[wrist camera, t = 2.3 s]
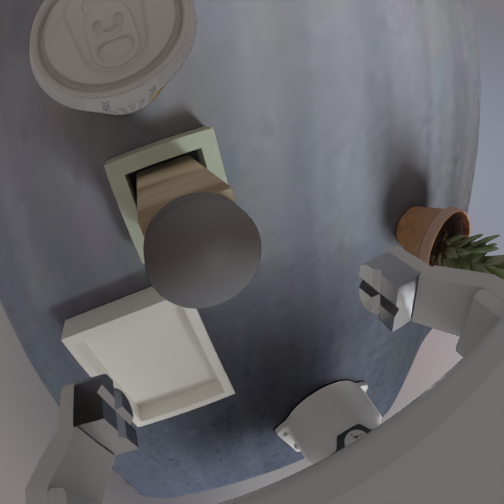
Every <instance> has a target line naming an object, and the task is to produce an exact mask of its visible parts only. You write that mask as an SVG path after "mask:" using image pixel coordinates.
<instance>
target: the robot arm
mask: <svg viewBox="0 0 504 504" xmlns="http://www.w3.org/2000/svg"><path fill="white" fill-rule="evenodd" d="M359 277H361V278H362V279H363V280H362V282H361V284H360V286H359V296H360V299H361V301H362V303H363V305H364V306H365V308H366V309H367V310H368V311H370V312H371V313H375V314H379V321H381V322H382V323H383V324H384V325H385V326H386V327H387V328H388V329H390V330H391V331H392V332H393V331H395V330H396V329H398V328H400V327H401V326H403V325H404V324H406V323H407V322H409V321H410V320H412V322H415V323H419V324H422V325H425V326H428V327H431V328H434V329H437V330H441V331H444V332H447V333H450V334H453V335H456V336H460V338H459V341H458V343H457V346H456V351H457V352H458V353H459V354H460V355H461V356H462V357H463V358H462V359H461V360H460V361H459V362H458V363H457V364H456V365H455V366H454V367H453V368H452V369H451V370H450V371H448V372H447V373H446V374H445V375H444V376H443V377H442V378H441V379H440V380H438V381H437V382H436V383H435V384H433V385H432V386H431V387H430V388H429V389H427V390H426V391H425V392H424V393H423V394H421V395H420V396H419V397H418V398H416V399H415V400H414V401H412V402H411V403H410V404H409V405H407V406H406V407H405V408H403V409H402V410H401V411H399V412H398V413H396V414H395V415H394V416H392V417H391V418H390V419H388V420H387V421H385V422H384V423H382V424H381V425H380V422H381V418H382V417H381V415H380V413H379V412H378V410H377V409H376V407H375V406H374V405H373V403H372V402H371V400H370V399H369V398H368V396H367V395H366V390H367V388H368V385H367V384H366V382H358V383H354V382H352V381H339V382H336V383H333V384H330V385H328V386H326V387H324V388H322V389H320V390H318V391H316V392H315V393H313V394H312V395H310V396H309V397H307V398H306V399H305V400H303V401H302V402H301V403H300V404H299V405H298V406H297V407H296V408H295V409H294V410H293V411H292V412H291V414H290V415H289V416H288V418H287V419H286V420H285V421H284V422H283V423H282V424H280V425H279V426H278V427H277V428H276V429H275V432H276V434H277V435H278V436H279V437H280V438H282V439H283V440H284V441H285V442H286V443H287V444H289V445H290V446H291V447H292V448H293V449H294V450H296V451H297V452H300V451H301V453H302V454H303V456H304V458H305V459H306V461H310V462H311V463H314V464H313V465H311V466H309V467H307V468H306V469H303V470H301V471H299V472H297V473H295V474H293V475H291V476H289V477H287V478H284V479H282V480H280V481H277V482H275V483H273V484H270V485H268V486H266V487H263V488H261V489H258V490H256V491H253V492H250V493H248V494H245V495H242V496H239V497H237V498H234V499H231V500H228V501H225V502H222V503H219V504H504V280H502V279H501V278H499V277H498V276H496V275H495V274H489V273H482V272H476V271H469V270H463V269H456V268H449V267H443V266H436V265H435V266H433V267H431V266H430V265H428V264H426V263H425V262H423V261H422V260H420V259H418V258H417V257H415V256H414V255H412V254H410V253H409V252H407V251H405V250H404V249H402V248H400V247H394V248H392V249H390V250H388V251H386V252H385V253H383V254H381V255H379V256H377V257H375V258H373V259H371V260H370V261H368V262H366V263H364V264H362V265H361V266H360V268H359ZM132 420H133V412H132V408H131V406H130V403H129V400H128V399H127V397H126V396H125V394H124V393H123V392H122V391H121V390H120V389H117V388H114V386H113V380H112V379H111V378H110V377H109V376H108V375H107V374H101V375H98V376H95V377H91V378H88V379H85V380H81V381H78V382H76V383H73V384H69V385H65V386H63V387H62V389H61V395H60V412H59V431H57V432H55V433H54V435H53V437H52V438H51V440H50V442H49V444H48V446H47V448H46V450H45V451H44V453H43V455H42V457H41V459H40V461H39V462H38V464H37V466H36V468H35V470H34V472H33V474H32V476H31V478H30V480H29V482H28V485H27V486H26V488H25V496H26V504H102V500H103V497H104V493H105V490H106V487H107V483H108V480H109V477H110V473H111V470H112V467H113V464H114V460H115V457H116V456H115V455H118V454H121V453H125V452H128V451H132V450H135V449H138V448H139V446H138V441H137V435H136V430H135V429H134V428H133V427H132V426H131V425H130V424H131V422H132Z"/></svg>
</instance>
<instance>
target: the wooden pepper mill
mask: <svg viewBox="0 0 504 504" xmlns="http://www.w3.org/2000/svg"><path fill="white" fill-rule="evenodd" d="M137 214H138V224H139V226H140V229H141V231H142V234H143V236H144V245H143V251H144V262H145V269H146V273H147V276H148V279H149V281H150V283H151V285H152V286H153V288H154V289H155V290H156V291H157V292H158V293H159V294H160V295H161V296H162V297H163V298H164V299H166V300H167V301H169V302H171V303H173V304H175V305H178V306H181V307H185V308H193V309H201V308H208V307H213V306H216V305H219V304H222V303H224V302H226V301H228V300H230V299H231V298H233V297H235V296H236V295H237V294H239V293H240V292H241V291H242V290H243V289H244V288H245V287H246V286H247V285H248V283H249V282H250V281H251V279H252V278H253V276H254V274H255V272H256V270H257V268H258V265H259V262H260V258H261V240H260V235H259V232H258V229H257V227H256V225H255V224H254V222H253V221H252V219H251V218H250V217H249V216H248V215H247V214H246V213H245V212H244V211H243V210H242V209H241V208H240V207H239V206H237V205H236V202H235V198H234V194H233V190H232V187H230V186H229V185H228V184H226V183H225V182H224V181H222V180H221V179H220V178H218V177H217V176H216V175H214V174H213V173H212V172H210V171H209V170H208V169H206V168H205V167H204V166H202V165H201V164H200V163H198V162H197V161H196V160H194V159H193V158H192V157H190V156H189V155H186V156H183V157H180V158H177V159H174V160H171V161H168V162H166V163H163V164H160V165H157V166H154V167H152V168H149V169H146V170H144V171H141V172H138V173H137Z"/></svg>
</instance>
